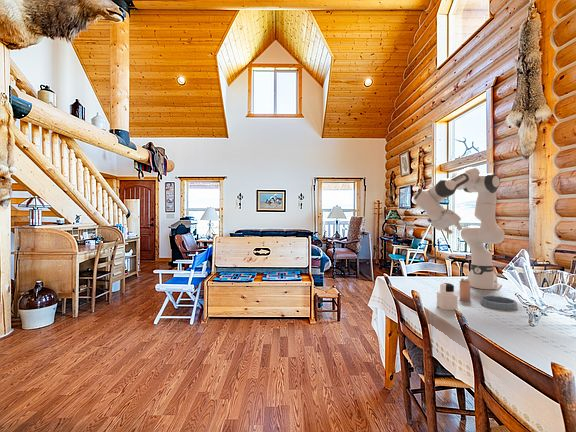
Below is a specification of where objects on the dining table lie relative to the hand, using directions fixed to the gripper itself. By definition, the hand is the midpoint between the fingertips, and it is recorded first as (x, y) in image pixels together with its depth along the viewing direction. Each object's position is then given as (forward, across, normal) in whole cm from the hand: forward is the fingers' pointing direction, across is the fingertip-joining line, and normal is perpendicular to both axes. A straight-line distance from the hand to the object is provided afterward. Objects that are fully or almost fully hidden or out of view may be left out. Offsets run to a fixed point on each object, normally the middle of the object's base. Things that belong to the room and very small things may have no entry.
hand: (456, 231), depth 171 cm
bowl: (+38, -7, +18) cm, 42 cm away
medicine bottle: (+20, -9, +40) cm, 45 cm away
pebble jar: (+29, +4, +24) cm, 38 cm away
